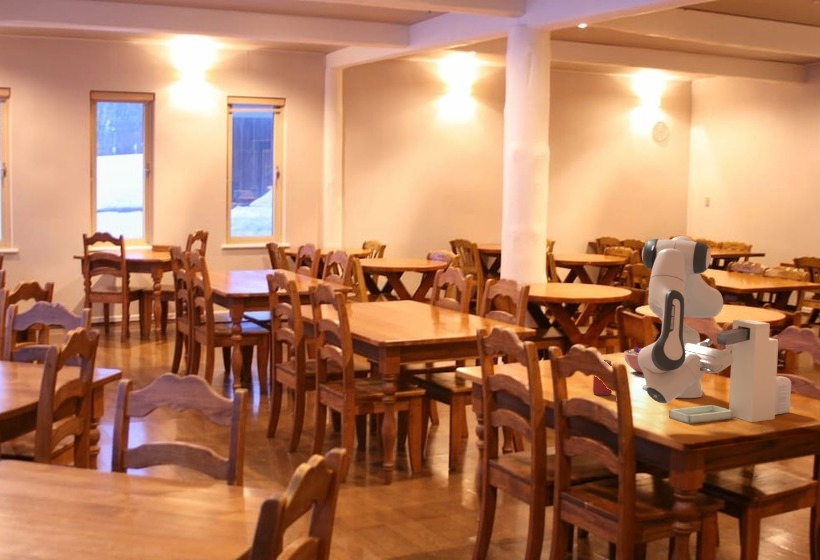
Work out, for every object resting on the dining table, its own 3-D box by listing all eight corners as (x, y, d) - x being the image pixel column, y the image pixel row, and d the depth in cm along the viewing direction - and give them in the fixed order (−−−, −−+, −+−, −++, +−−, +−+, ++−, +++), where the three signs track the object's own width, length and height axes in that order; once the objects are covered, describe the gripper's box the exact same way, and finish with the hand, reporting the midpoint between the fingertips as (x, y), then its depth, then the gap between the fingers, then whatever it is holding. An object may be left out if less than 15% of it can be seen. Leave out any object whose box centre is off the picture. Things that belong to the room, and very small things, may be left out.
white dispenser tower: (728, 415, 343) (732, 320, 340) (751, 412, 348) (756, 318, 345) (751, 422, 335) (755, 324, 331) (774, 419, 339) (779, 322, 336)
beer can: (603, 396, 370) (604, 363, 369) (589, 393, 375) (590, 360, 374) (615, 394, 374) (616, 361, 373) (601, 391, 379) (602, 358, 378)
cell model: (616, 369, 423) (617, 341, 422) (663, 368, 427) (664, 340, 425) (632, 377, 406) (633, 348, 405) (681, 376, 410) (682, 347, 409)
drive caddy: (717, 343, 334) (716, 333, 334) (748, 335, 340) (747, 325, 339) (726, 345, 331) (725, 335, 330) (757, 337, 336) (756, 327, 336)
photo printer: (780, 410, 352) (782, 374, 351) (791, 412, 349) (793, 376, 347) (760, 413, 346) (762, 377, 345) (771, 416, 343) (773, 379, 342)
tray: (668, 417, 340) (669, 410, 339) (712, 412, 348) (712, 404, 347) (688, 423, 331) (689, 416, 331) (732, 418, 339) (733, 410, 339)
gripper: (710, 365, 318) (741, 339, 322) (665, 353, 336) (695, 330, 340) (717, 381, 320) (748, 356, 324) (672, 369, 338) (702, 346, 342)
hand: (720, 343), depth 332 cm, fingers open, 8 cm apart
